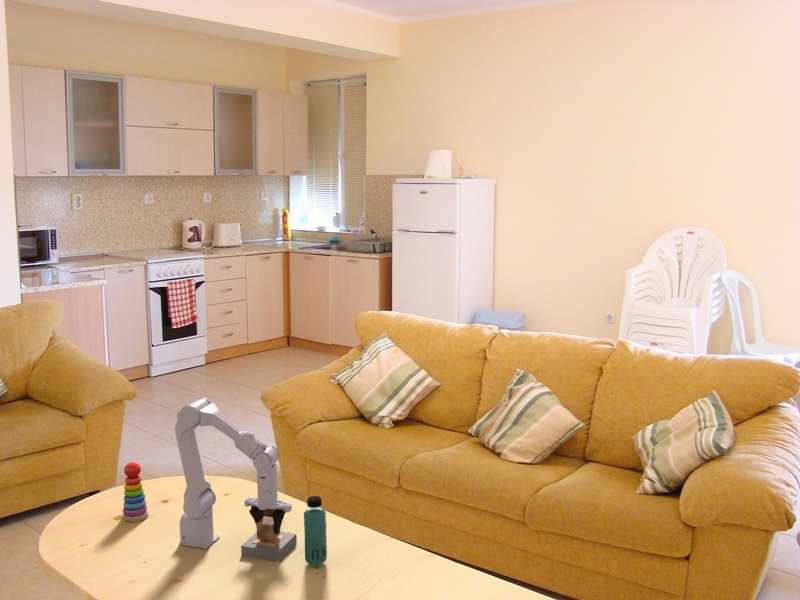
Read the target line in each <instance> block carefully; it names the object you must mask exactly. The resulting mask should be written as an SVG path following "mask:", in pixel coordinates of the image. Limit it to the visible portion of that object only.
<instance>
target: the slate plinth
mask: <svg viewBox="0 0 800 600" xmlns="http://www.w3.org/2000/svg"><path fill="white" fill-rule="evenodd" d="M297 538H298V537H297V533H293V532H289V531H281V530H280V535H279V536H278V537H277V538H276V539H275V540H274V541H273V542H271V541H265V540H258V539H257V531H256V532H255V533H254V534H252V536H250V537H249V538H248V539H247V540H246V541H245V542H244V543H242V545H240V554H241V556H242V557H247V558H255V559H258V560H259V559H260V560H267V561H272V562H278V563H279V562H280V560H281V559H283V557H284V556H286V554H287V553H288V552H289V551H290V550H291V549H293V547H294V546H295V545H297Z"/></svg>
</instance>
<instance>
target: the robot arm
mask: <svg viewBox="0 0 800 600" xmlns="http://www.w3.org/2000/svg"><path fill="white" fill-rule="evenodd" d="M176 417H177V419H176V421H175V422H176V423H175V427H174V433H175V437H176V442H177V446H178V452H179V456H180V461H181V465H182V470H183V473H184V479H185V484H186V488H185V490H184V493H183V507H182V509H183V513H182V515H181V516H180V518H179V535H180V537H179V539H180V542H178V545H180V546H188V547H192V548H199V549H205V550H206V549H208V548H209V547H210V546H211V545H212V544H213V543H215V542H216V541H217V540H218V539H220V535H217V534H214V532H215V531H214V514H213V505H215V503H216V501H217V496H216V493H215V492H214V490H213V489H212V485H211V482H209V481H208V480H206V479H205V473H204V469H203V465H202V460H201V456H200V455H201V454H200V451H199V446H198V440H197V436H196V432H195V431H196V430H197V428H198V427H209V426H210V427H211V426H212V427H214V428H215V429H216V430H218V431H220V432H221V433H222V434H224V435H226V437H228V438H230V439H231V440H232V441H233V442H234V447H235V448H236V449H237V450H239V452H241V453H242V454H244V455H245V456H247V457H248V458H249V459H250V460H251V461H252V465H253V467H254V468H255V469H256V483H257V487H256V488H257V497H247V498H246V499H245V500H244V507H247V508H249V507H250V509H249V510H248V512H249V514H250V516H251V517H252V519H253V520H254V523H255V527H257V525H256V523H257V522H259V521H260V520H261V519H262V518H263V512H264V510H265V509H274V510H275V511H274V512H273V513H272V517H273V521H274V532H275V534H278V533H279V532H280V531H281V529H282V528H281V526H282V524H283V520H284V517H285V515H286V513H290V512H292V508H293V507H292V505H293V504H292V503H289V502H286V501H282V500H280V499H278V495H277V494H278V474H277V473H278V472H277V462H278V461H279V459H280V452H279V450H278V449H277V448H276V447H275V446H274V445H272V444H266V443H264V442H263V441H261V440H260V439H259V438H257V437H256V436H255V433H254V432H252V431H251V432H250V431H248V430H241V429H240V428H239V427H237V425H235V424H234V422H232V421H231V420H230V419H228V417H227V416H225V415H224V414H223V413H222V412H221V411H220V410H219V409H218V407H217V405H216V404H215V403H213V402H211V401H210V399H208V398H206V397H203V396H202V397H198V398H197V399H195V400H194V401H192V402H190V403H189V404H187V405H184V406H183V407H182V408H180V409H179V411H178V412H177V413H176Z"/></svg>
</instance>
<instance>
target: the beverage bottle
mask: <svg viewBox="0 0 800 600" xmlns="http://www.w3.org/2000/svg"><path fill="white" fill-rule="evenodd" d="M306 506H307V507H308V508H307V509H306V510H304V512H303V522H304V523H303V524H304V525H303V526H304V530H303V531H304V560H305V563H307V564H309V565H313V566H314V565H321V564H323V563H325V562H326V560H327V559H328V551H327V550H328V548H327V538H328V537H327V519H326V518H327V517H326V515H327V514H326V510H325V509H324V508H323V507H321V506H323V502H322V498H321V496H318V495H311V496H309V497H307V503H306Z"/></svg>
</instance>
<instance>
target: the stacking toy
mask: <svg viewBox="0 0 800 600" xmlns="http://www.w3.org/2000/svg"><path fill="white" fill-rule="evenodd" d="M123 471H124V472H123V473H124V474H125V477H126V478H125V480H124V482H125V484H124V491H123V493H124V497H123V501H124V502H123V508H122V519H123V520H124V521H125V522H128V523H135V522H136V523H137V522H140V521H143V520H145V519H146V518H148V516H149V511H148V510H147V509H148V506H147V500H146V495H145V493H144V491H145V490H144V488H143V483H142V477H141V476H140V473H141V471H142V468H141V465H140V464H139V463H138V462H136V461H131V462H128V463H127V464H126V465H125V466H124V469H123Z"/></svg>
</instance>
